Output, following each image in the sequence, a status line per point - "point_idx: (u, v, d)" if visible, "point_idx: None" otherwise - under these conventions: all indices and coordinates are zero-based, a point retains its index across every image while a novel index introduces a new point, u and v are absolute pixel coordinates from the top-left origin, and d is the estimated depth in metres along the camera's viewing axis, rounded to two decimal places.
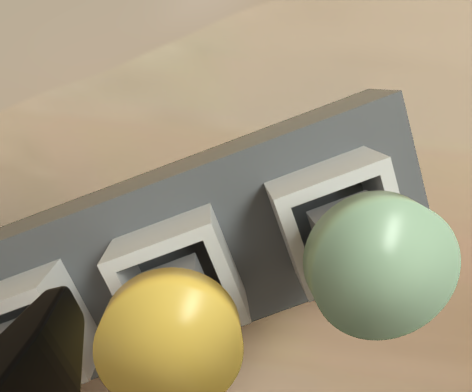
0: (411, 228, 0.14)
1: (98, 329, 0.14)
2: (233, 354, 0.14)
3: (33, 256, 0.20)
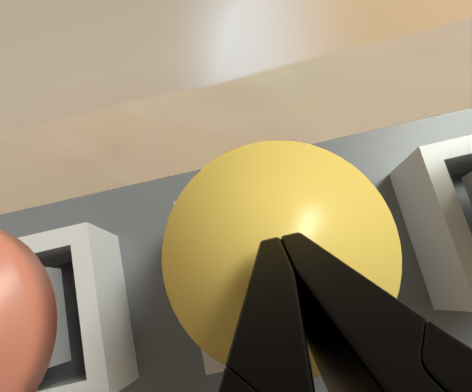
0: None
1: (183, 192, 0.09)
2: (384, 273, 0.09)
3: None
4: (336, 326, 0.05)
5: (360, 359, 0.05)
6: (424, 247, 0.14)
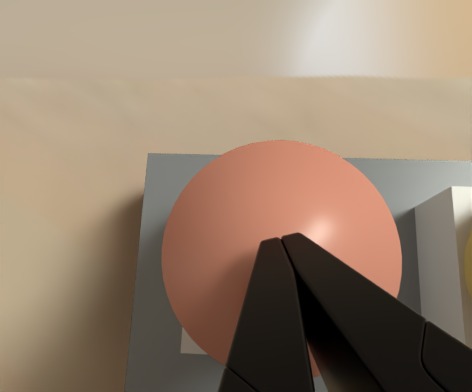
0: None
1: None
2: None
3: None
4: (336, 326, 0.05)
5: (360, 359, 0.05)
6: None
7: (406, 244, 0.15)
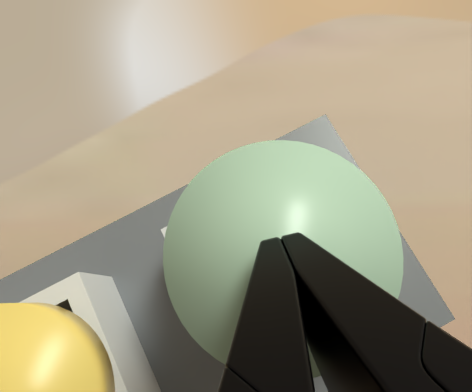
0: (299, 175, 0.09)
1: None
2: None
3: None
4: (336, 326, 0.05)
5: (360, 359, 0.05)
6: None
7: None
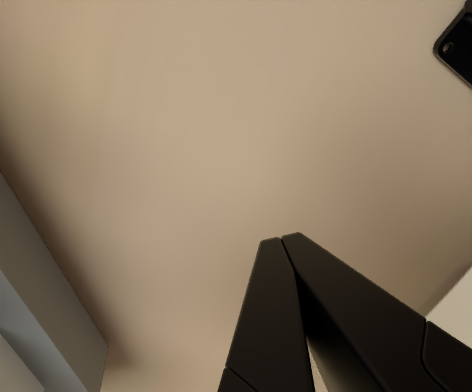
0: None
1: None
2: None
3: None
4: (336, 326, 0.05)
5: (360, 359, 0.05)
6: None
7: None
